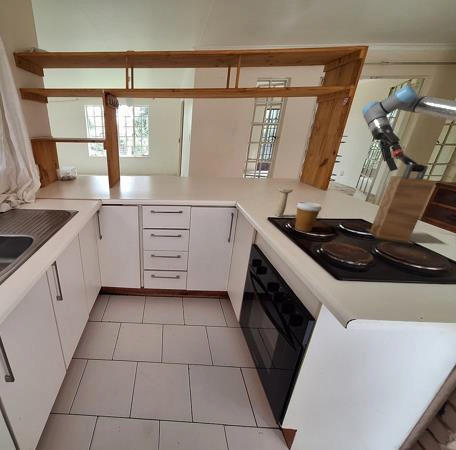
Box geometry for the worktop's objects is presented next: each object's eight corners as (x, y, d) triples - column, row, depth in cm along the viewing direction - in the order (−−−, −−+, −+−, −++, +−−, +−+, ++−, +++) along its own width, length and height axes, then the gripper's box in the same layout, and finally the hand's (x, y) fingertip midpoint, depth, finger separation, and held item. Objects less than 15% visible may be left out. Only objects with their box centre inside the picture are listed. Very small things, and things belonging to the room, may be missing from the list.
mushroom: (274, 213, 130) (280, 187, 125) (286, 216, 127) (293, 189, 122) (271, 215, 127) (277, 188, 122) (284, 218, 123) (291, 190, 118)
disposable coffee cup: (310, 234, 102) (317, 208, 98) (287, 228, 109) (293, 203, 105) (318, 230, 108) (325, 205, 104) (296, 224, 114) (302, 200, 110)
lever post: (364, 231, 109) (390, 163, 98) (397, 236, 105) (428, 165, 94) (375, 240, 98) (405, 165, 88) (412, 246, 94) (449, 168, 84)
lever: (389, 156, 108) (393, 148, 106) (399, 156, 107) (403, 148, 105) (409, 173, 92) (414, 164, 90) (421, 174, 91) (426, 165, 89)
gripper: (368, 144, 133) (382, 177, 126) (375, 118, 114) (392, 155, 107) (385, 138, 129) (401, 172, 122) (396, 110, 110) (415, 148, 103)
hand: (397, 164), depth 114 cm, fingers open, 13 cm apart
